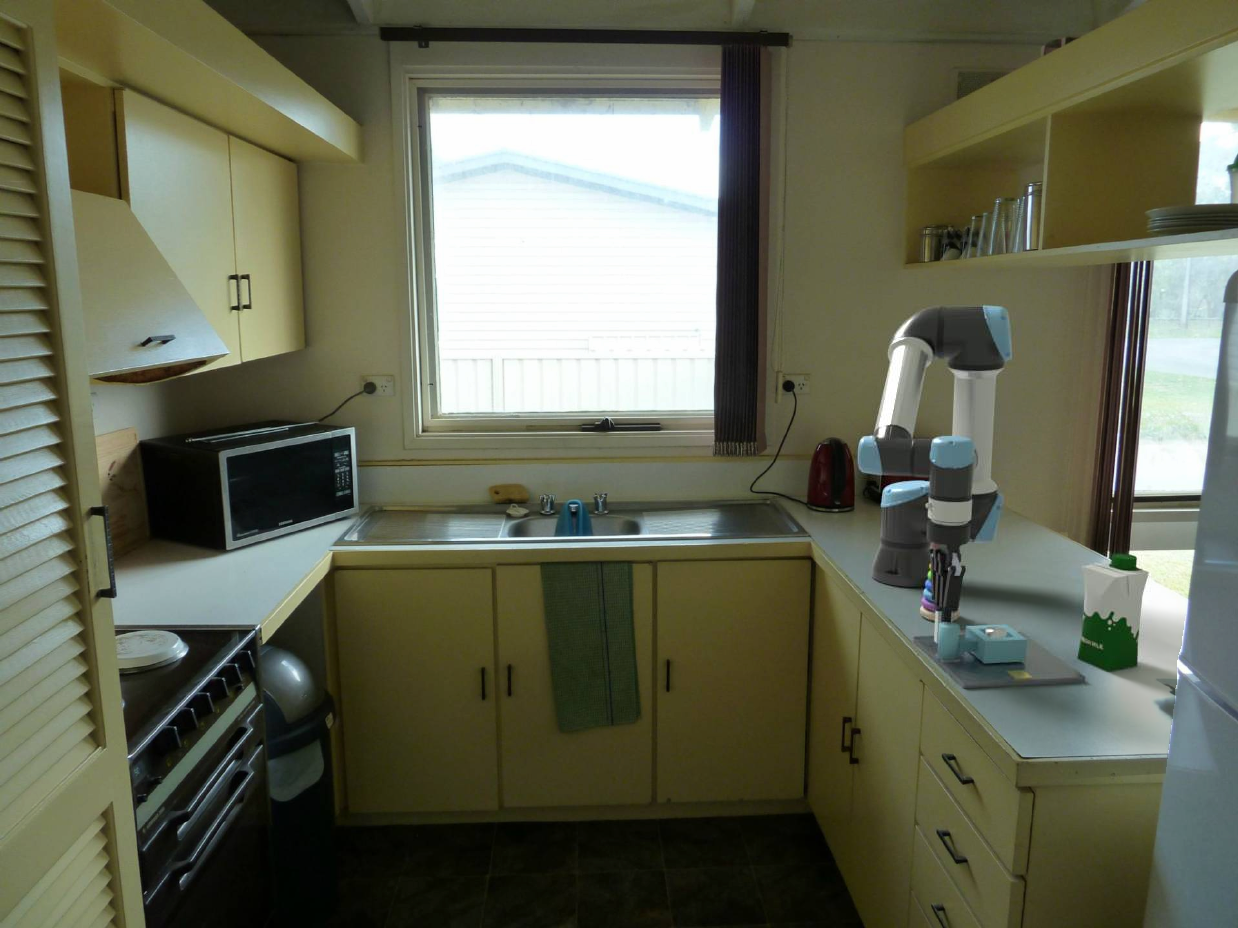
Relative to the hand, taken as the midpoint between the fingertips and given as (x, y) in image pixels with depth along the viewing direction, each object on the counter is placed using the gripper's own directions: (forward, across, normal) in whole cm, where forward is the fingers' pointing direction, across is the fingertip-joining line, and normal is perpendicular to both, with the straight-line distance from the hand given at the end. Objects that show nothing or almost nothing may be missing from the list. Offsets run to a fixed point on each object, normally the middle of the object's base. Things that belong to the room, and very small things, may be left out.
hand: (942, 641), depth 173 cm
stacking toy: (+3, -21, +6) cm, 22 cm away
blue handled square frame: (+1, +4, +5) cm, 6 cm away
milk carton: (+3, +5, +29) cm, 29 cm away
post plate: (+3, +3, +9) cm, 10 cm away
